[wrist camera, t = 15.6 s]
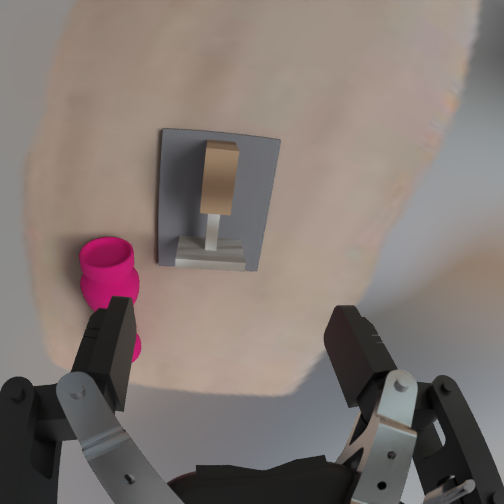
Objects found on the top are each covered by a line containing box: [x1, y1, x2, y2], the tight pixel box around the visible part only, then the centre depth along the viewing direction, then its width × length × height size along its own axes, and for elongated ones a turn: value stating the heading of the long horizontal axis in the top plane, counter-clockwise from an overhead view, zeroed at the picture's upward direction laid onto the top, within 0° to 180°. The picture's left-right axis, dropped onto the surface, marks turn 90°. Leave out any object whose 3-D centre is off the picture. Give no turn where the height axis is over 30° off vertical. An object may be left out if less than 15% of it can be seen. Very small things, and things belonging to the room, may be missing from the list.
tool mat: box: [158, 128, 281, 271], centre depth 32 cm, size 16×12×1 cm
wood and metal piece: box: [175, 139, 246, 271], centre depth 29 cm, size 12×7×5 cm, turn 171°
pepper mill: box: [79, 237, 141, 363], centre depth 34 cm, size 7×7×20 cm
